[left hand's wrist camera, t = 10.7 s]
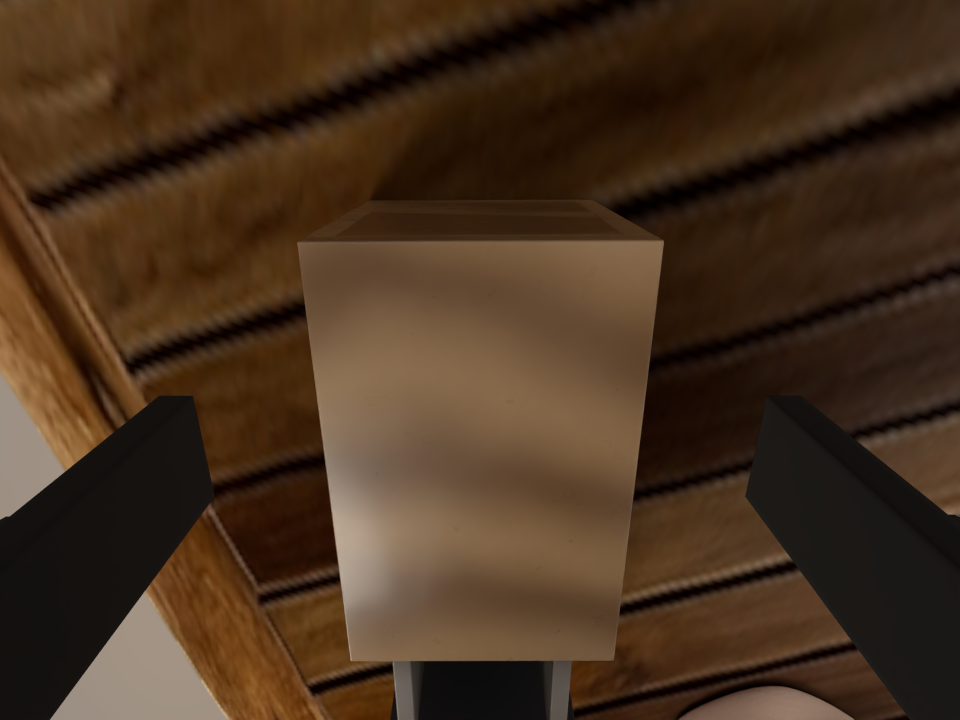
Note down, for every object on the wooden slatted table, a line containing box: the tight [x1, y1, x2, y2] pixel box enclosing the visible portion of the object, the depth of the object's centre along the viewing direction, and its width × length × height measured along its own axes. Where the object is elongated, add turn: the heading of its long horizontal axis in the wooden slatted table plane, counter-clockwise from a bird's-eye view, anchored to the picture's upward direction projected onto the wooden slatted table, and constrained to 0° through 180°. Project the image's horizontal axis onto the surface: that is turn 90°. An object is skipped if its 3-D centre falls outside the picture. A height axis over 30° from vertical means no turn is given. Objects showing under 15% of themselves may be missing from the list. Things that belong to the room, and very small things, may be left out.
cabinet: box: [297, 200, 664, 661], centre depth 24 cm, size 17×11×11 cm, turn 0°
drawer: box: [390, 661, 574, 720], centre depth 29 cm, size 21×9×9 cm, turn 0°
